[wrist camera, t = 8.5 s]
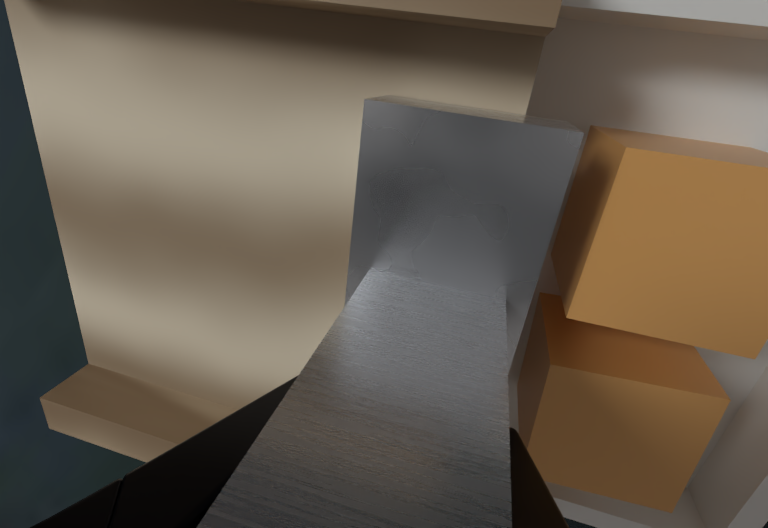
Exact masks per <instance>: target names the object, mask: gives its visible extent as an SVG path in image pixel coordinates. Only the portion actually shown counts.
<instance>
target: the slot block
mask: <svg viewBox="0 0 768 528" xmlns="http://www.w3.org/2000/svg"><path fill="white" fill-rule="evenodd" d="M4 1H5V6H6V10H7V14H8V18H9V23H10V27H11V31H12V36H13V40H14V44H15V49H16V53H17V57H18V61H19V66H20V70H21V74H22V79H23V83H24V87H25V92H26V96H27V100H28V104H29V109H30V113H31V117H32V122H33V126H34V130H35V135H36V139H37V143H38V147H39V152H40V156H41V160H42V165H43V169H44V173H45V178H46V182H47V186H48V190H49V195H50V199H51V203H52V208H53V212H54V216H55V221H56V225H57V229H58V233H59V238H60V242H61V246H62V251H63V255H64V259H65V264H66V268H67V272H68V276H69V281H70V285H71V289H72V294H73V298H74V302H75V307H76V311H77V315H78V319H79V324H80V328H81V332H82V337H83V341H84V345H85V350H86V354H87V358H88V362H89V364H88V365H86V366H85V367H83V368H82V369H80V370H79V371H78V372H76V373H75V374H73V375H72V376H70V377H69V378H68V379H66V380H65V381H63V382H62V383H60V384H59V385H57V386H56V387H55V388H53V389H52V390H50V391H49V392H47V393H46V394H45V395H43V396H42V397H40V400H41V403H42V406H43V409H44V413H45V416H46V419H47V422H48V426H49V428H50V429H53V430H55V431H58V432H61V433H64V434H67V435H70V436H73V437H76V438H78V439H81V440H84V441H87V442H90V443H93V444H96V445H98V446H101V447H104V448H107V449H110V450H113V451H116V452H118V453H121V454H124V455H127V456H130V457H133V458H136V459H139V460H141V461H144V462H149V461H150V460H152V459H154V458H156V457H157V456H159V455H161V454H163V453H164V452H166V451H168V450H169V449H171V448H173V447H175V446H176V445H178V444H180V443H182V442H183V441H185V440H187V439H189V438H190V437H192V436H194V435H195V434H197V433H199V432H201V431H202V430H204V429H206V428H208V427H209V426H211V425H213V424H214V423H216V422H218V421H220V420H221V419H223V418H225V417H227V416H228V415H230V414H232V413H234V412H235V411H237V410H239V409H240V408H242V407H244V406H246V405H247V404H249V403H251V402H253V401H254V400H256V399H258V398H260V397H261V396H263V395H265V394H266V393H268V392H270V391H272V390H273V389H275V388H277V387H279V386H280V385H282V384H284V383H285V382H287V381H289V380H291V379H292V378H294V377H296V376H298V375H299V374H300V372H301V371H302V369H303V368H304V366H305V365H306V364H307V362H308V361H309V359H310V358H311V356H312V355H313V353H314V352H315V350H316V349H317V347H318V346H319V344H320V343H321V341H322V340H323V338H324V337H325V335H326V334H327V332H328V331H329V329H330V328H331V326H332V325H333V323H334V322H335V320H336V319H337V317H338V316H339V314H340V313H341V311H342V310H343V308H344V306H345V296H346V285H347V275H348V264H349V254H350V243H351V233H352V222H353V212H354V201H355V191H356V180H357V170H358V159H359V149H360V138H361V128H362V118H363V107H364V99H367V98H373V97H379V96H384V95H394V96H401V97H407V98H414V99H421V100H427V101H434V102H441V103H447V104H454V105H461V106H467V107H474V108H481V109H487V110H494V111H501V112H507V113H514V114H521V115H526V111H527V107H528V103H529V100H530V96H531V92H532V88H533V84H534V80H535V76H536V72H537V68H538V64H539V60H540V56H541V52H542V48H543V44H544V40H545V37H546V36H547V35H548V34H549V33H550V32H551V31H552V30H553V29H555V27H556V23H557V19H558V15H559V11H560V7H561V4H562V0H4Z"/></svg>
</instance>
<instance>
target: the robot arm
mask: <svg viewBox="0 0 768 528" xmlns="http://www.w3.org/2000/svg"><path fill="white" fill-rule="evenodd" d="M297 377H298V376H296V377H294V378H292V379H291V380H289V381H287V382H285V383H284V384H282V385H280V386H279V387H277V388H275V389H273V390H272V391H270V392H268V393H266V394H265V395H263V396H261V397H260V398H258V399H256V400H254V401H253V402H251V403H249V404H247V405H246V406H244V407H242V408H240V409H239V410H237V411H235V412H234V413H232V414H230V415H228V416H227V417H225V418H223V419H221V420H220V421H218V422H216V423H214V424H213V425H211V426H209V427H208V428H206V429H204V430H202V431H201V432H199V433H197V434H195V435H194V436H192V437H190V438H189V439H187V440H185V441H183V442H182V443H180V444H178V445H176V446H175V447H173V448H171V449H169V450H168V451H166V452H164V453H163V454H161V455H159V456H157V457H156V458H154V459H152V460H150V461H149V462H147V463H145V464H144V465H142V466H140V467H138V468H137V469H135V470H133V471H131V472H130V473H128V474H126V475H125V476H124V478H123V480H122V479H117V480H115V481H114V482H112V483H110V484H109V485H107V486H105V487H103V488H102V489H100V490H98V491H96V492H95V493H93V494H91V495H89V496H88V497H86V498H84V499H82V500H80V501H79V502H77V503H75V504H73V505H71V506H69V507H68V508H66V509H64V510H62V511H60V512H59V513H57V514H55V515H53V516H51V517H50V518H48V519H46V520H44V521H42V522H40V523H38V524H36V525H34V526H32V527H30V528H197V526H198V525H199V523H200V522H201V520H202V519H203V517H204V516H205V514H206V513H207V511H208V510H209V508H210V507H211V505H212V504H213V502H214V501H215V499H216V498H217V496H218V495H219V493H220V492H221V490H222V489H223V487H224V486H225V484H226V483H227V481H228V480H229V478H230V477H231V475H232V474H233V472H234V471H235V469H236V468H237V466H238V465H239V463H240V462H241V461H242V459H243V458H244V456H245V455H246V453H247V452H248V450H249V449H250V447H251V446H252V444H253V443H254V441H255V440H256V438H257V437H258V435H259V434H260V432H261V431H262V429H263V428H264V426H265V425H266V423H267V422H268V420H269V419H270V417H271V416H272V414H273V413H274V411H275V410H276V408H277V407H278V405H279V404H280V402H281V401H282V399H283V398H284V396H285V395H286V393H287V392H288V390H289V389H290V387H291V386H292V384H293V383H294V381H295V380H296V378H297ZM509 433H510V471H511V508H512V528H569V526H568V524H567V523H566V521H565V519H564V517H563V515H562V513H561V511H560V510H559V508H558V506H557V504H556V502H555V500H554V498H553V497H552V495H551V493H550V491H549V489H548V487H547V485H546V484H545V482H544V480H543V478H542V476H541V474H540V472H539V471H538V469H537V467H536V465H535V463H534V461H533V459H532V458H531V456H530V454H529V452H528V450H527V448H526V446H525V445H524V443H523V441H522V439H521V437H520V435H519V433H518V432H517V431H516V430H515V429H514V428H511V427H509Z"/></svg>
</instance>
